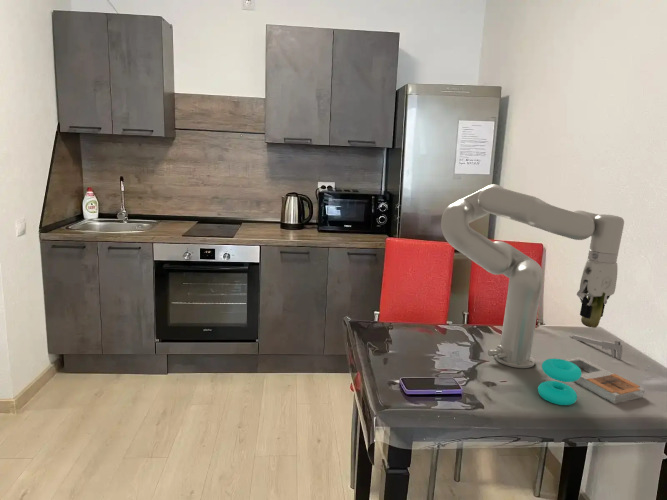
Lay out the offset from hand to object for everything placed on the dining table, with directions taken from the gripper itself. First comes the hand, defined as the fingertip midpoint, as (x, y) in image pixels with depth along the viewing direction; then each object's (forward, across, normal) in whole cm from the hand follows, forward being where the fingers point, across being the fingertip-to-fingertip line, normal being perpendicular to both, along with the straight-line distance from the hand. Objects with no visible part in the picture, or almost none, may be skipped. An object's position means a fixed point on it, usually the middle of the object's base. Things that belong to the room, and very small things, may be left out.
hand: (591, 315), depth 151 cm
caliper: (+20, +24, +14) cm, 34 cm away
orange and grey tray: (+19, 0, -5) cm, 20 cm away
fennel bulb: (+4, 0, 0) cm, 4 cm away
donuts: (+19, -20, -9) cm, 29 cm away
